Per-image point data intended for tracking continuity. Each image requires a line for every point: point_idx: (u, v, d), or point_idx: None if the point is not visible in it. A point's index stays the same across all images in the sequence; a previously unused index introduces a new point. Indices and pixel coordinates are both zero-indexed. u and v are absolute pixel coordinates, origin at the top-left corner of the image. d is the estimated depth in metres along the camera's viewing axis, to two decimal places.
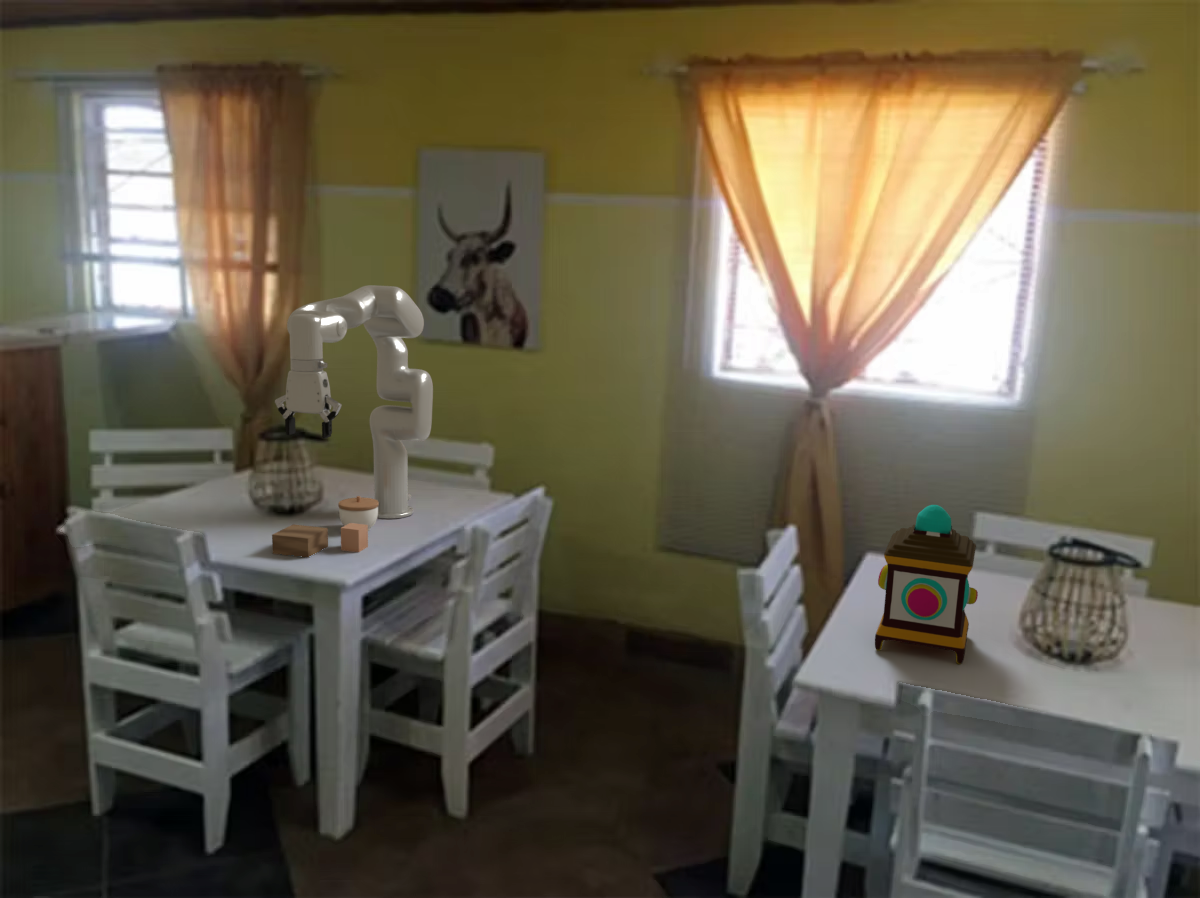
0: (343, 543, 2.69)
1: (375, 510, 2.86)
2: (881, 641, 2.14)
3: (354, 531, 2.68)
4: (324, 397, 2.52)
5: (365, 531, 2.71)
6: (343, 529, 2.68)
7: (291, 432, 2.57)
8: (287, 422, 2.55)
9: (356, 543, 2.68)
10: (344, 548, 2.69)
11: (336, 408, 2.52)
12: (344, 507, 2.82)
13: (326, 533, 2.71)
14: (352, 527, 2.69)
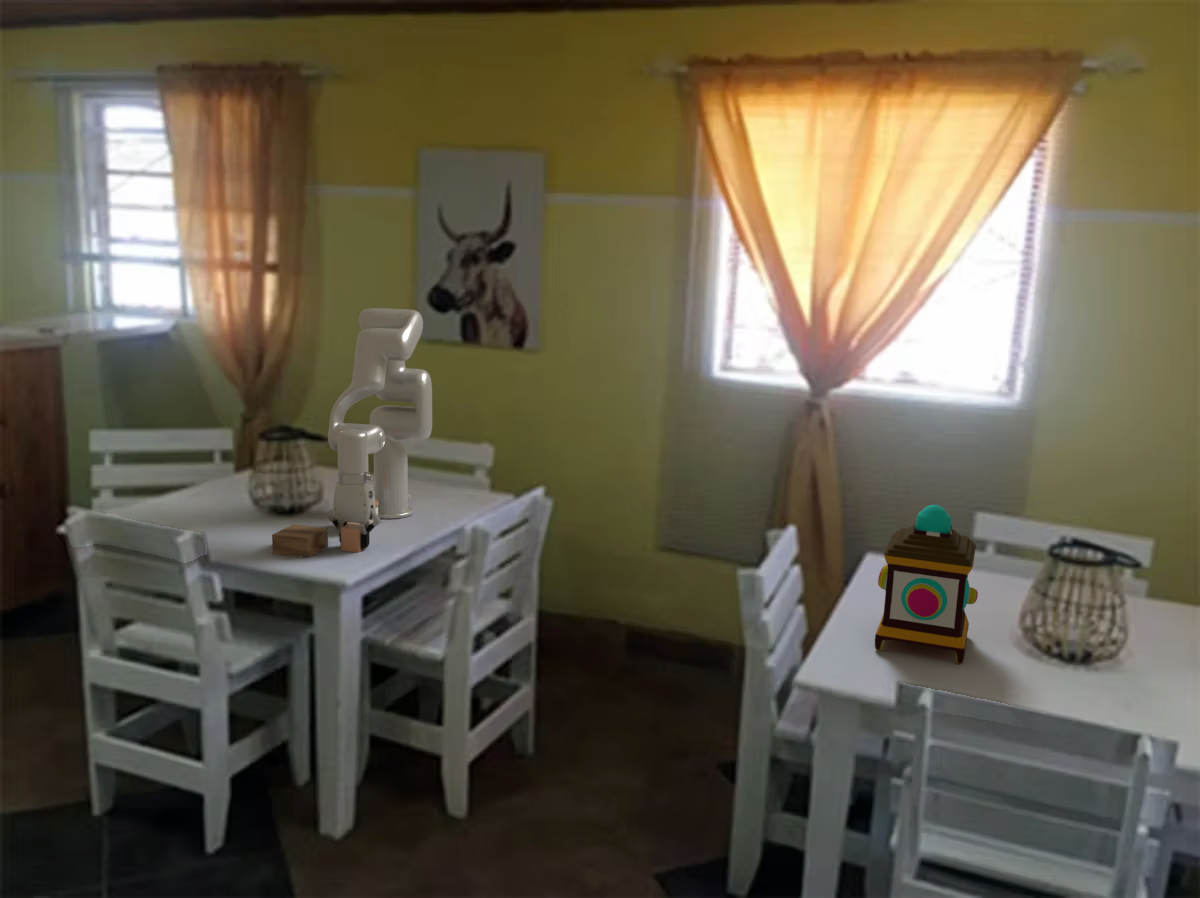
0: (343, 542, 2.69)
1: None
2: (881, 641, 2.14)
3: (354, 531, 2.68)
4: (370, 508, 2.67)
5: None
6: (343, 529, 2.68)
7: None
8: None
9: (356, 543, 2.68)
10: (344, 548, 2.69)
11: (375, 523, 2.68)
12: None
13: (326, 533, 2.71)
14: (352, 527, 2.69)
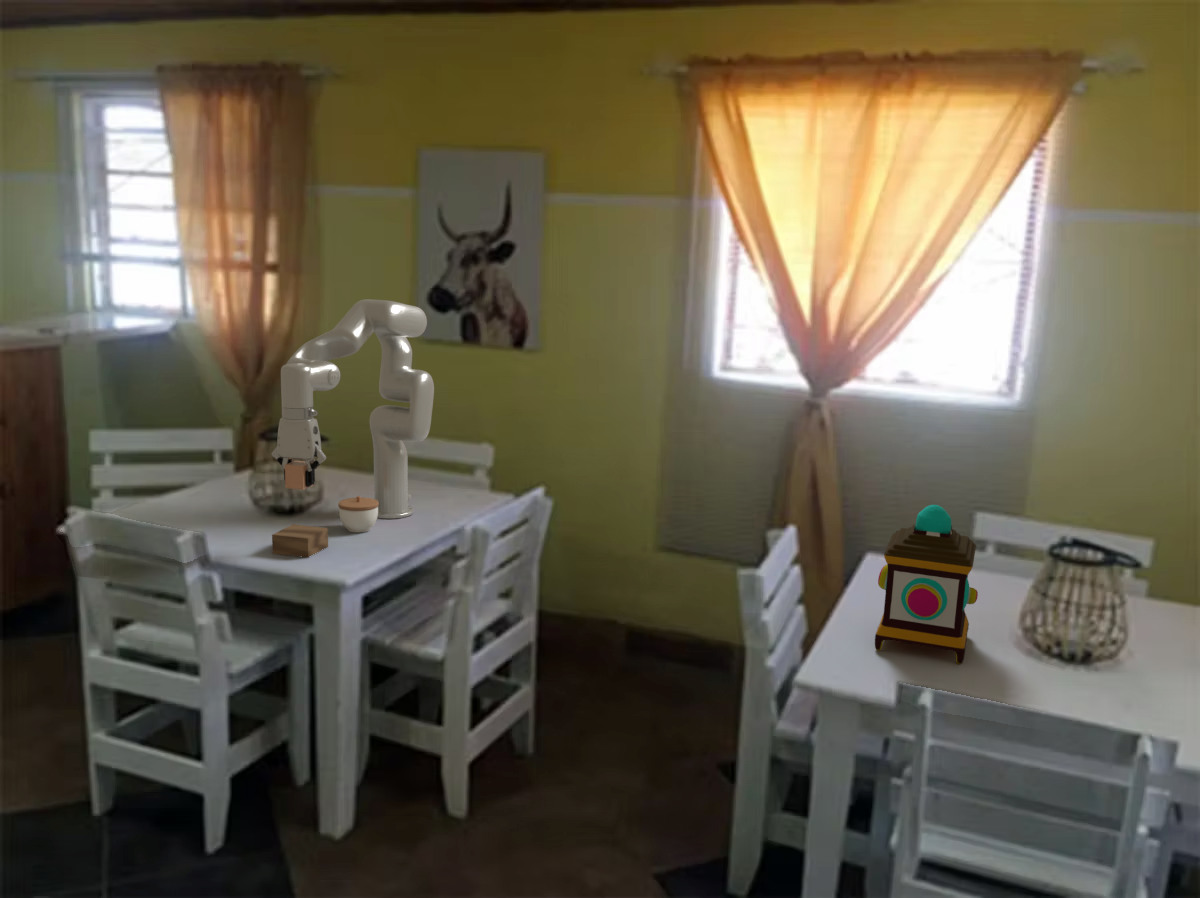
0: (287, 480, 2.63)
1: (375, 510, 2.86)
2: (881, 641, 2.14)
3: (298, 467, 2.61)
4: (314, 444, 2.61)
5: None
6: (287, 466, 2.62)
7: None
8: None
9: (300, 480, 2.62)
10: (288, 485, 2.63)
11: (320, 460, 2.62)
12: (344, 507, 2.82)
13: (326, 533, 2.71)
14: (296, 464, 2.63)
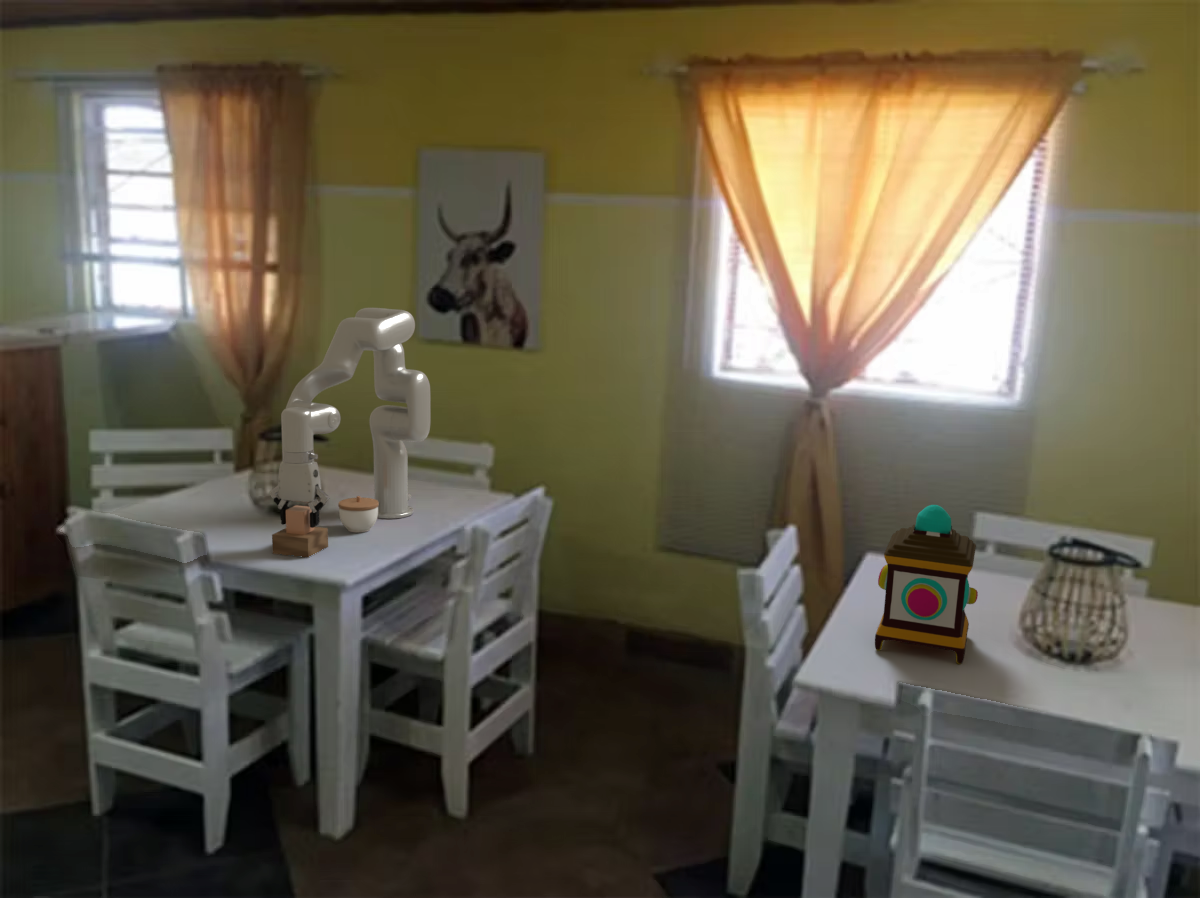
0: (288, 525, 2.65)
1: (375, 510, 2.86)
2: (881, 641, 2.14)
3: (299, 513, 2.64)
4: (314, 487, 2.63)
5: None
6: (288, 511, 2.65)
7: None
8: (282, 512, 2.66)
9: (301, 525, 2.64)
10: (289, 530, 2.66)
11: (324, 500, 2.64)
12: (344, 507, 2.82)
13: (326, 533, 2.71)
14: (297, 509, 2.65)
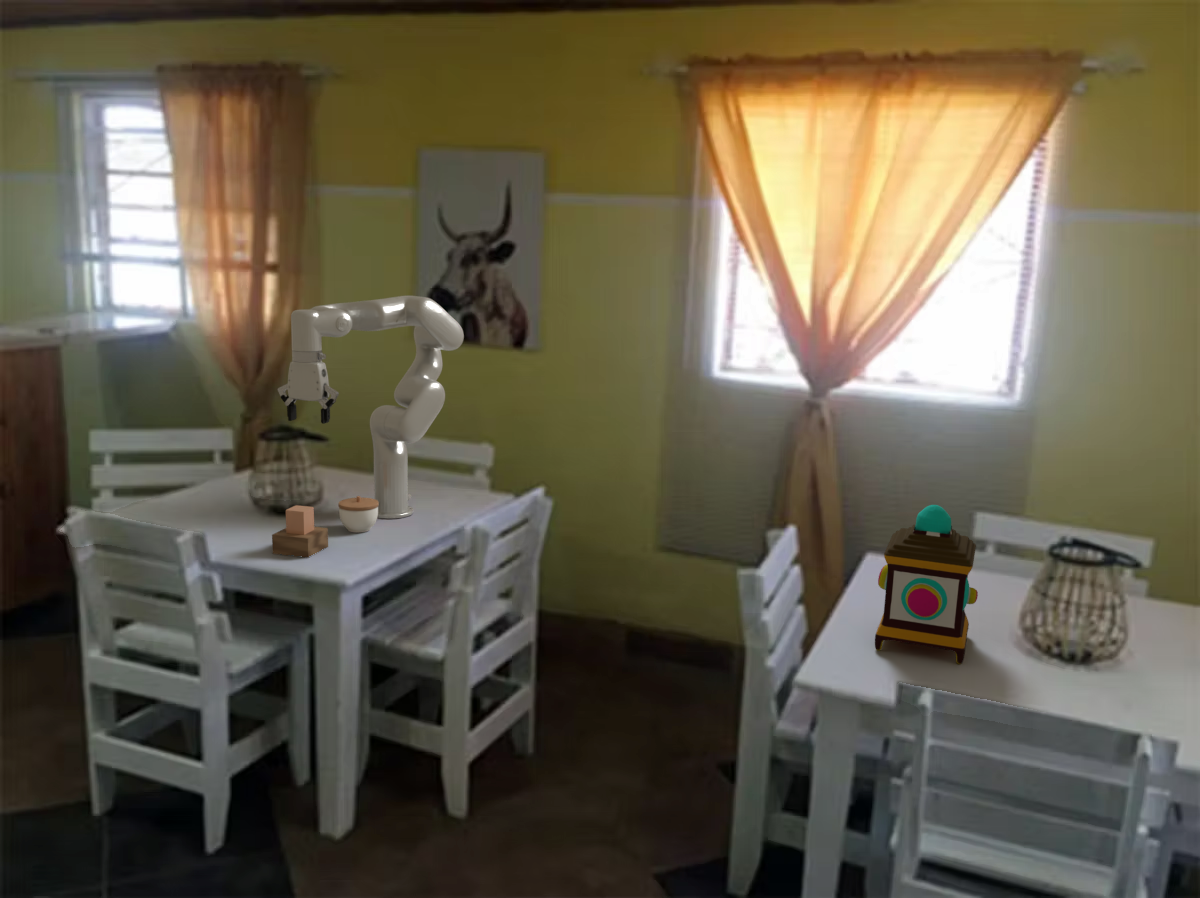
0: (288, 525, 2.65)
1: (375, 510, 2.86)
2: (881, 641, 2.14)
3: (299, 513, 2.64)
4: (323, 386, 2.75)
5: (311, 513, 2.67)
6: (288, 511, 2.65)
7: (292, 418, 2.80)
8: (289, 409, 2.78)
9: (301, 525, 2.64)
10: (289, 530, 2.66)
11: (334, 396, 2.75)
12: (344, 507, 2.82)
13: (326, 533, 2.71)
14: (297, 509, 2.65)
